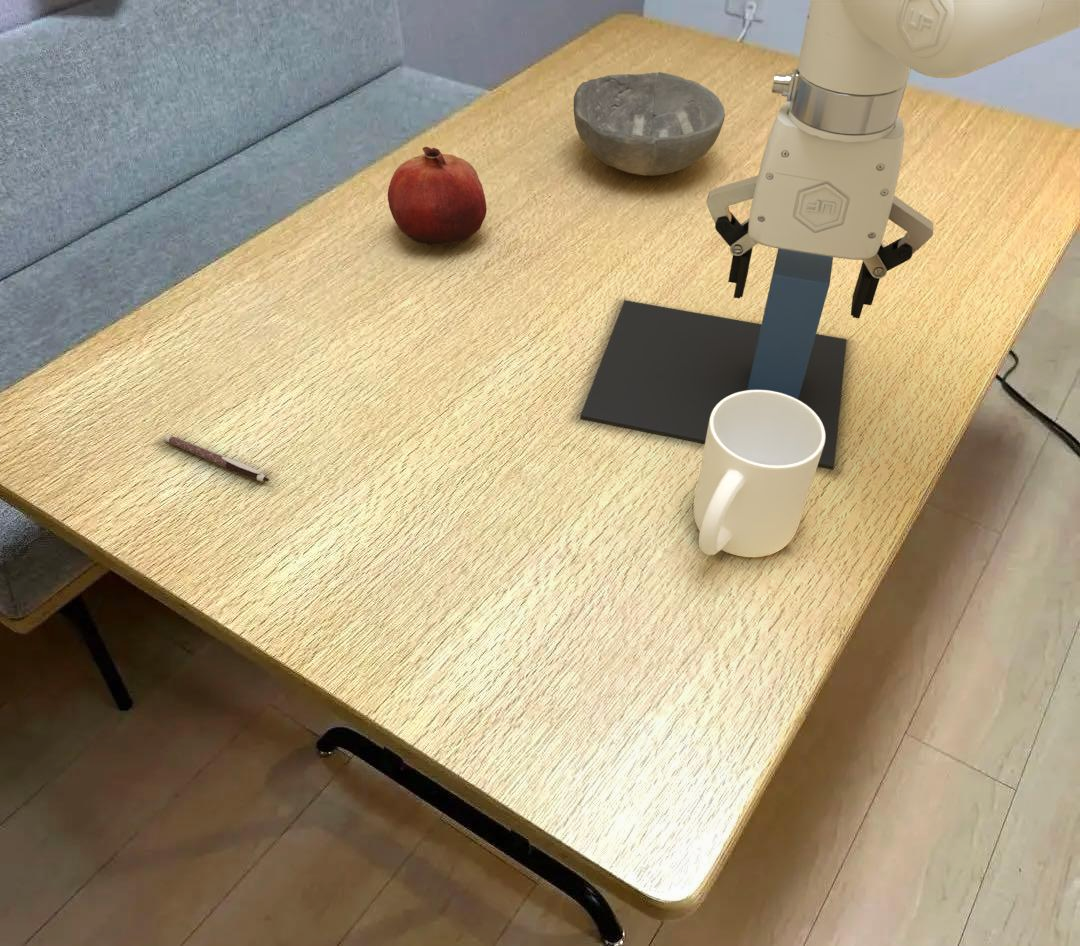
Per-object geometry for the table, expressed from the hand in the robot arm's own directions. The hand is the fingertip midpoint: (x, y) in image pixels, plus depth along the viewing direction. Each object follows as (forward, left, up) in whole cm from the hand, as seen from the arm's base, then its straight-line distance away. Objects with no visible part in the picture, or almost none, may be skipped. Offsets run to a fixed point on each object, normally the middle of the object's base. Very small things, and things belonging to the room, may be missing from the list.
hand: (797, 298), depth 79 cm
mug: (+1, +19, -10) cm, 21 cm away
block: (0, 0, -10) cm, 10 cm away
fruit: (+38, -15, -10) cm, 42 cm away
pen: (+44, +23, -10) cm, 51 cm away
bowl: (+20, -38, -10) cm, 44 cm away
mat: (+5, 0, -10) cm, 11 cm away
